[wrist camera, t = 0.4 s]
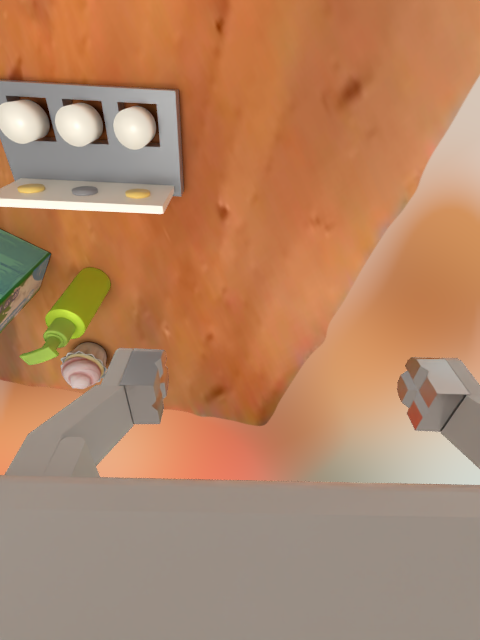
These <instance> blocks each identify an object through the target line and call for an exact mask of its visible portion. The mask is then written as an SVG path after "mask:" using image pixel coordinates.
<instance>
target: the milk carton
mask: <svg viewBox="0 0 480 640" xmlns="http://www.w3.org/2000/svg"><path fill="white" fill-rule="evenodd" d="M50 255H51V253H49V252H47V251H45V250H43V249H41V248H39V247H36V246H34V245H32V244H30V243H28V242H26V241H24V240H22V239H20V238H18V237H16V236H14V235H12V234H10V233H7V232H5V231H3V230H1V229H0V333H1V332H2V331H3V330H4V328H5V327H6V326H7V325H8V324H9V323H10V322H11V321H12V320H13V318H14V317H15V316H16V315H17V314H18V313H19V312H20V311H21V310H22V308H23V307H24V306H25V305H26V304H27V303H28V302H29V301H30V299H31V298H32V297H33V296H34V295H35V294H36V293H37V292H38V291H39V289H40V286H41V283H42V280H43V277H44V274H45V271H46V268H47V265H48V262H49V258H50Z"/></svg>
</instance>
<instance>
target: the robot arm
mask: <svg viewBox="0 0 480 640" xmlns="http://www.w3.org/2000/svg"><path fill="white" fill-rule="evenodd" d="M166 360H167V357H166V351H165V350H155V349H136V348H134V349H129V348H118V349H117V350H116V351H115V354H114V356H113V358H112V360H111V363H110V365H109V367H108V370H107V372H106V374H105V376H104V379H103V381H102V383H101V385H95V386H94V387H93V388H91V389H90V390H88V391H87V392H86V393H84V394H83V395H82V396H80V397H79V398H78V399H76V400H75V401H73V402H72V403H71V404H69V405H68V406H66V407H65V408H64V409H62V410H61V411H59V412H58V413H57V414H56V415H54V416H53V417H51V418H50V419H48V420H47V421H46V422H44V423H43V424H42V425H40V426H39V427H37V428H36V429H35V430H33V431H32V432H31V433H29V434H28V435H27V437H26V439H25V440H24V442H23V444H22V446H21V448H20V449H19V451H18V452H17V454H16V456H15V458H14V460H13V461H12V463H11V465H10V466H9V468H8V470H7V472H6V473H5V475H0V640H480V485H451V484H401V483H400V484H399V483H349V482H299V481H252V480H203V479H202V480H201V479H155V478H108V477H100V476H99V473H98V471H97V468H96V466H97V465H98V464H99V462H100V461H101V460H102V459H103V458H104V457H105V456H106V455H107V454H108V453H109V452H110V451H111V449H112V448H113V447H114V446H115V445H116V444H117V443H118V441H120V439H122V437H123V436H124V435H125V434H126V433H127V432H128V431H129V430H130V429H131V428H132V427H133V424H160V422H161V417H162V413H163V409H164V404H163V398H165V397H166V395H167V390H168V382H169V374H168V368H167V367H166V366H165V364H166ZM405 366H406V369H407V371H406V372H405V373H403V374H402V375H401V376H400V378H399V380H398V388H397V390H398V395H399V398H400V400H401V402H402V403H403V404H404V405H406V406H407V407H408V408H409V409H408V412H407V415H408V416H409V419H410V420H411V423H412V425H413V427H414V429H415V430H418V431H438V432H441V434H442V435H444V436H445V437H446V438H447V439H448V440H449V441H450V442H451V443H452V444H453V445H454V446H455V447H457V448H458V449H459V450H460V451H461V452H462V453H463V454H464V455H465V456H466V457H468V459H470V460H471V461H472V462H473V463H474V464H475V465H476V466H477V467H478V468H479V469H480V385H479V383H478V382H477V381H476V380H475V378H474V377H473V376H472V374H471V373H470V372H469V370H468V369H467V368H466V366H465V365H464V364H463V362H462V361H461V360H459V359H458V358H416V357H412V358H410V359H409V360H408V361H407V363H406V365H405Z"/></svg>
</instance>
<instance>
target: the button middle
mask: <svg viewBox="0 0 480 640" xmlns="http://www.w3.org/2000/svg"><path fill="white" fill-rule="evenodd" d="M55 124H56V128H57V131H58V133H59V134H60V136H61V137H62V138H63V139H64V140H65V141H66V142H67V143H69V144H70V145H73V146H76V147H82V146H85V145H87V144H89V143H91V142H93V141H95V140H97V139H98V138H99V137H100V136H101V135H102V132H103V122H102V119H101V116H100V115H99V113H98V112H97V110H96V109H95V108H93V107H92V106H91V105H89V104H86V103H76V104H72V105H67V106H63V107H61V108H60V109H59V110H58V111H57V113H56V116H55Z"/></svg>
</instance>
